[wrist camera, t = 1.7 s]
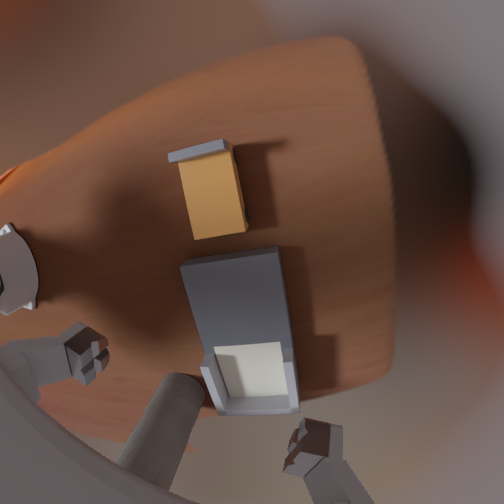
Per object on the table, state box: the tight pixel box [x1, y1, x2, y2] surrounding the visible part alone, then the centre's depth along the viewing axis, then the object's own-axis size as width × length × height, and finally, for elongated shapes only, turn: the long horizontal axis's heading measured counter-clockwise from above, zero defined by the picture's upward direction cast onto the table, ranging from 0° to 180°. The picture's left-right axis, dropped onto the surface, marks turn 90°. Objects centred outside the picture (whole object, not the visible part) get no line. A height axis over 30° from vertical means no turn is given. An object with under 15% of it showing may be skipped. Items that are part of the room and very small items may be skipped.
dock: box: [180, 246, 300, 416], centre depth 35 cm, size 12×23×6 cm, turn 11°
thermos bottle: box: [115, 373, 205, 491], centre depth 30 cm, size 8×8×28 cm
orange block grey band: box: [168, 139, 249, 240], centre depth 30 cm, size 6×10×6 cm, turn 11°
